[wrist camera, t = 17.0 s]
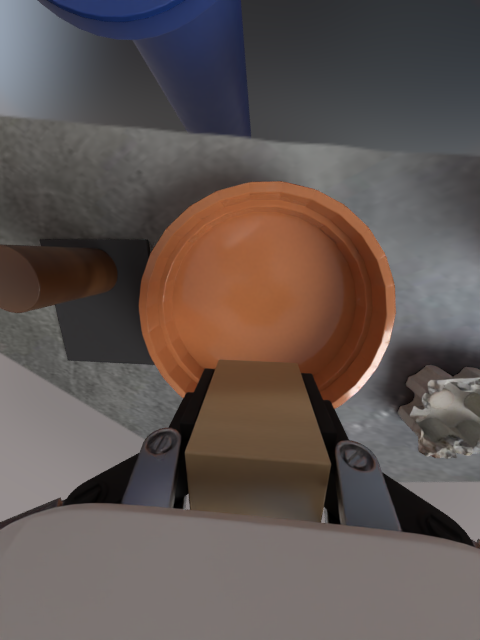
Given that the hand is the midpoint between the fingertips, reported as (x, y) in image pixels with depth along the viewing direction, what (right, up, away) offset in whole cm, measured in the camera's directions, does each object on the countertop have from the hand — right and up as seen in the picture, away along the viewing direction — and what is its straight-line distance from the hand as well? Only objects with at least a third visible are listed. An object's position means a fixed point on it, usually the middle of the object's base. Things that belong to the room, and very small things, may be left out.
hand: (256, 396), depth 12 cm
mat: (-14, +5, +10) cm, 18 cm away
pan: (+1, +5, +9) cm, 10 cm away
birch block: (0, 0, 0) cm, 0 cm away
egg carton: (+20, -3, +10) cm, 22 cm away
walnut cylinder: (-14, +8, +9) cm, 18 cm away
